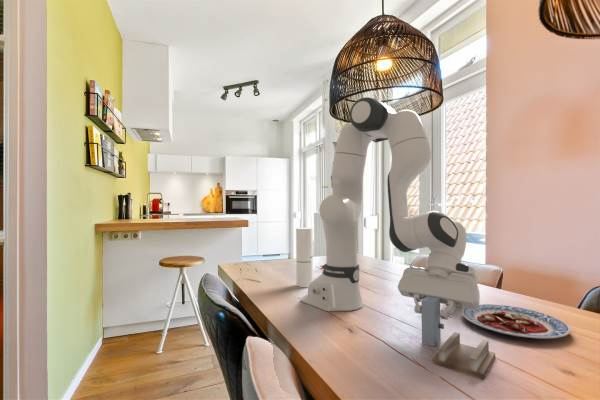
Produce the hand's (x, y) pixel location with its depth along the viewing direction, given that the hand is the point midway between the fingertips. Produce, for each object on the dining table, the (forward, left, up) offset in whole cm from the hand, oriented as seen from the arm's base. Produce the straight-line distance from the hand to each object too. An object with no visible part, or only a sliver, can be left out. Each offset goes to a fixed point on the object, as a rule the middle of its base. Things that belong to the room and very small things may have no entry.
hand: (430, 315), depth 80 cm
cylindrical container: (-61, +22, -7) cm, 65 cm away
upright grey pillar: (0, +1, -7) cm, 7 cm away
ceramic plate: (+14, +27, -7) cm, 31 cm away
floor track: (+9, -4, -7) cm, 12 cm away
